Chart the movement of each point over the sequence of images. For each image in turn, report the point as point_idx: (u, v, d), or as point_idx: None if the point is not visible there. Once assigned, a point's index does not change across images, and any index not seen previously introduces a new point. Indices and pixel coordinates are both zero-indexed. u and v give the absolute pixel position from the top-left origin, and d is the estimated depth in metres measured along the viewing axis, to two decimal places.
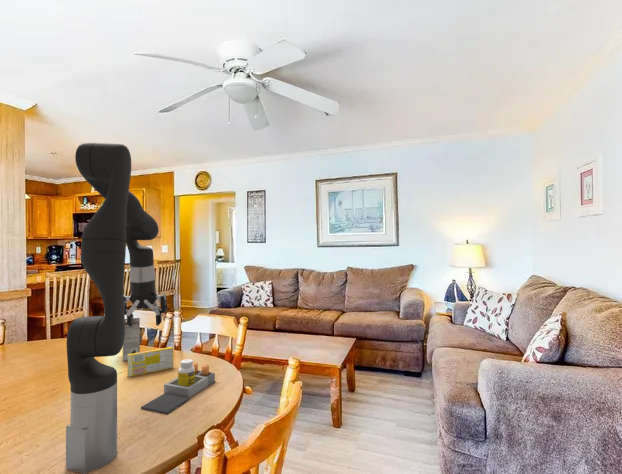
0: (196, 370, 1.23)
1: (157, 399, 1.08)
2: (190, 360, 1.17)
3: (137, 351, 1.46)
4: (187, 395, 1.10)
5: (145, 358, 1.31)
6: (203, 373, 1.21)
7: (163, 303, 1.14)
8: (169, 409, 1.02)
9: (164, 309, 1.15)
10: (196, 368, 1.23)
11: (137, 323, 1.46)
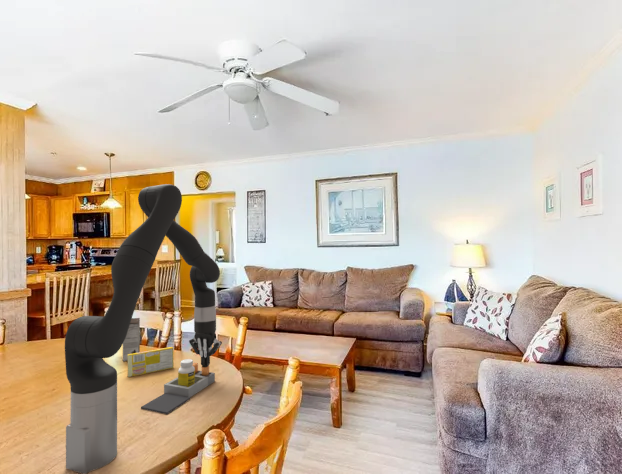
0: (196, 370, 1.23)
1: (157, 399, 1.08)
2: (190, 360, 1.17)
3: (137, 351, 1.46)
4: (187, 395, 1.10)
5: (145, 358, 1.31)
6: (203, 374, 1.21)
7: (213, 349, 1.20)
8: (169, 409, 1.02)
9: (210, 352, 1.21)
10: (196, 368, 1.23)
11: (137, 323, 1.46)
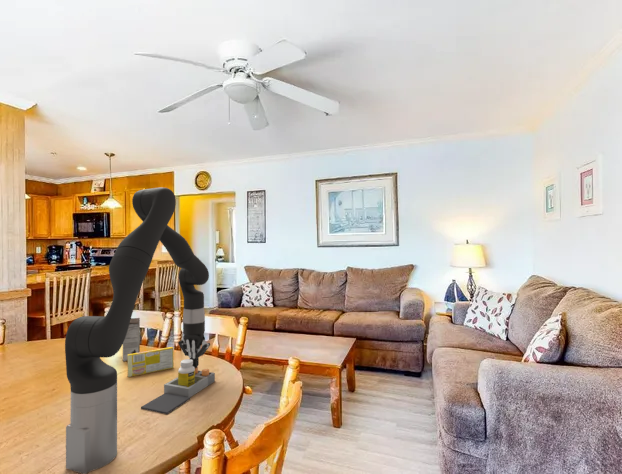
0: None
1: (157, 399, 1.08)
2: (190, 360, 1.17)
3: (137, 351, 1.46)
4: (187, 395, 1.10)
5: (145, 358, 1.31)
6: None
7: (202, 350, 1.22)
8: (169, 409, 1.02)
9: (198, 353, 1.22)
10: (196, 372, 1.23)
11: (137, 323, 1.46)
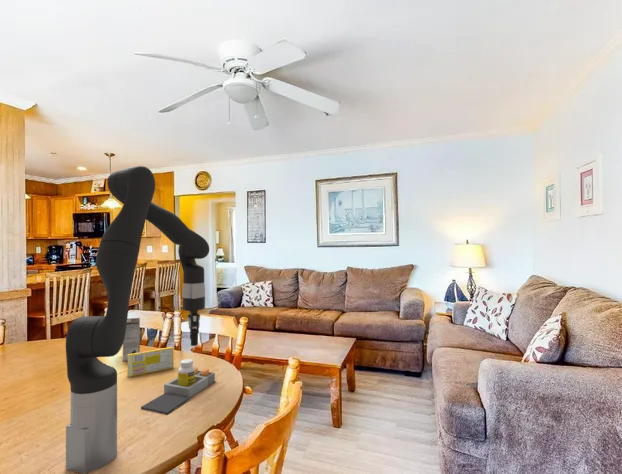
0: None
1: (157, 399, 1.08)
2: (190, 360, 1.17)
3: (137, 351, 1.46)
4: (187, 395, 1.10)
5: (145, 358, 1.31)
6: None
7: (190, 323, 1.13)
8: (169, 409, 1.02)
9: (191, 330, 1.13)
10: (196, 373, 1.23)
11: (137, 323, 1.46)
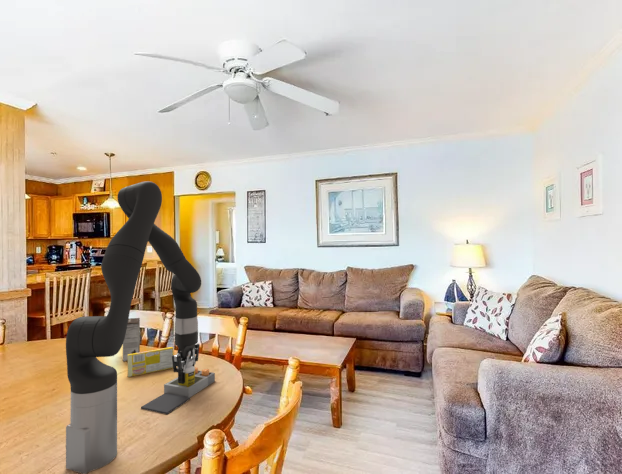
0: None
1: (157, 399, 1.08)
2: (190, 360, 1.17)
3: (137, 351, 1.46)
4: (187, 395, 1.10)
5: (145, 358, 1.31)
6: None
7: None
8: (169, 409, 1.02)
9: None
10: (196, 373, 1.23)
11: (137, 323, 1.46)
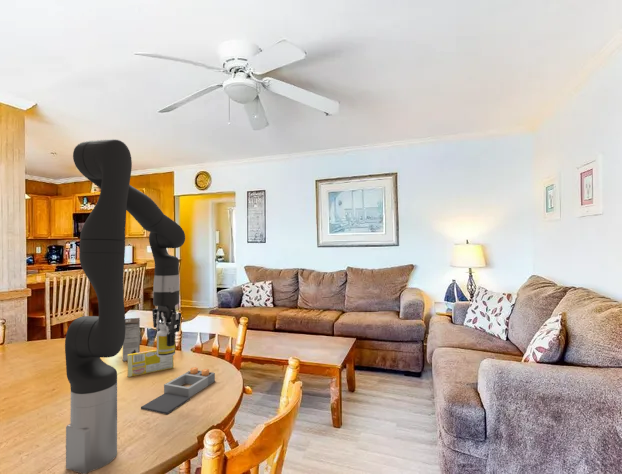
0: None
1: (157, 399, 1.08)
2: None
3: (137, 351, 1.46)
4: (187, 395, 1.10)
5: (145, 358, 1.31)
6: None
7: (172, 322, 1.02)
8: (169, 409, 1.02)
9: (171, 328, 1.02)
10: (196, 373, 1.23)
11: (137, 323, 1.46)
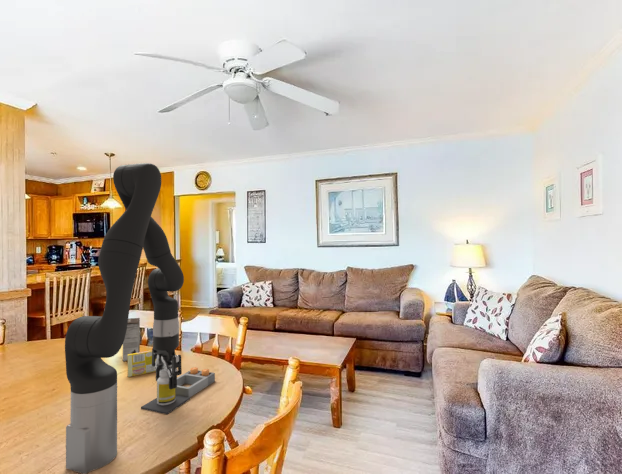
0: None
1: None
2: None
3: (137, 351, 1.46)
4: (187, 395, 1.10)
5: (145, 358, 1.31)
6: None
7: (173, 365, 1.01)
8: (169, 409, 1.02)
9: (173, 372, 1.01)
10: (196, 373, 1.23)
11: (137, 323, 1.46)
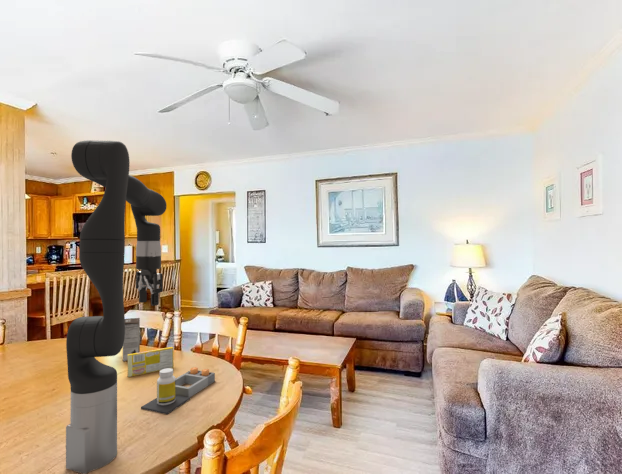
0: None
1: None
2: (168, 368, 1.08)
3: (137, 351, 1.46)
4: (187, 395, 1.10)
5: (145, 358, 1.31)
6: None
7: (154, 282, 1.08)
8: (169, 409, 1.02)
9: (155, 288, 1.08)
10: (196, 373, 1.23)
11: (137, 323, 1.46)
